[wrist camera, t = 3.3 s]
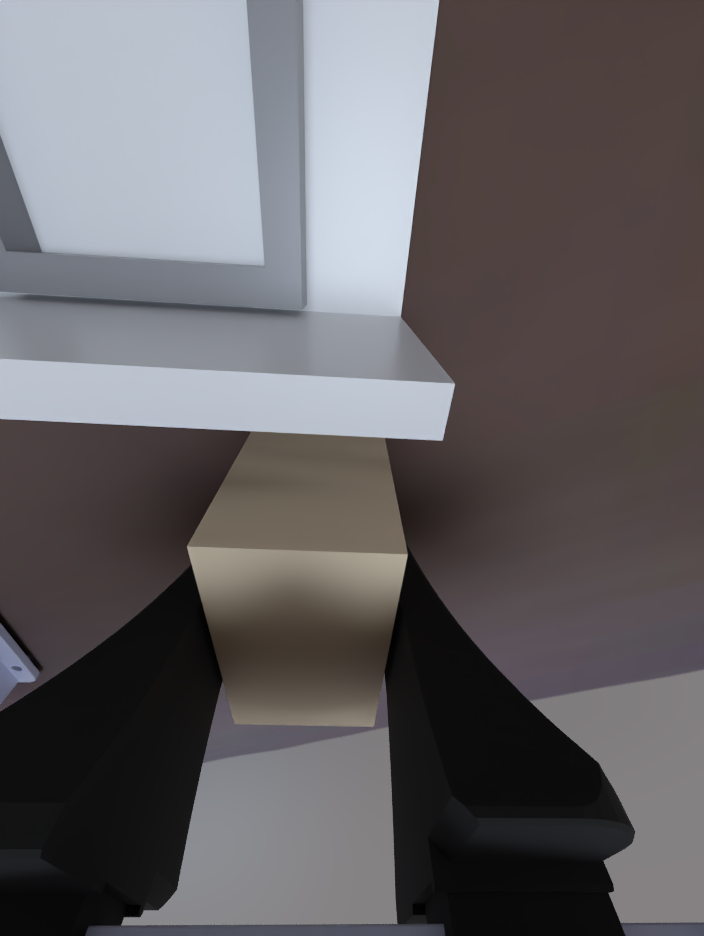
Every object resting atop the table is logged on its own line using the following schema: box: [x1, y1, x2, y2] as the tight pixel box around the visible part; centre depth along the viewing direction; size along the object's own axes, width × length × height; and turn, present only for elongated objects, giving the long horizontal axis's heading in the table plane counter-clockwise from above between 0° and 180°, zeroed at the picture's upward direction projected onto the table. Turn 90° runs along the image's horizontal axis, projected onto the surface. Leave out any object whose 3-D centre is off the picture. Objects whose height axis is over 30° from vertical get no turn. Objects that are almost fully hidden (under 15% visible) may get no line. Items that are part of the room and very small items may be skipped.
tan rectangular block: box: [187, 431, 408, 727], centre depth 10 cm, size 7×4×5 cm, turn 177°
